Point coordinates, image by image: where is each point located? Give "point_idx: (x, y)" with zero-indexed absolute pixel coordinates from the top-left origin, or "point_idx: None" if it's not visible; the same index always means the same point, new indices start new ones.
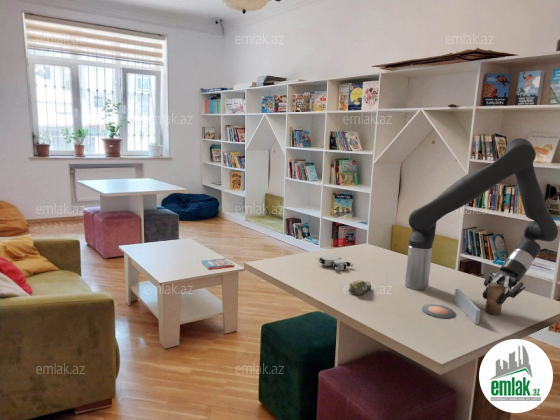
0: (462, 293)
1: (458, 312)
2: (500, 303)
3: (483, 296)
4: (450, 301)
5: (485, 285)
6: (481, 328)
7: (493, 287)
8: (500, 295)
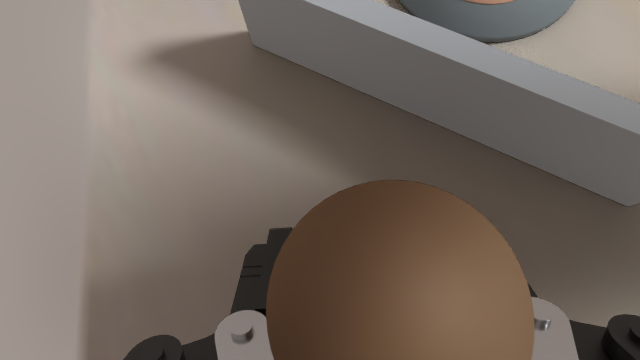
0: (597, 109)
1: None
2: None
3: None
4: None
5: (603, 330)
6: (209, 21)
7: (353, 190)
8: None
